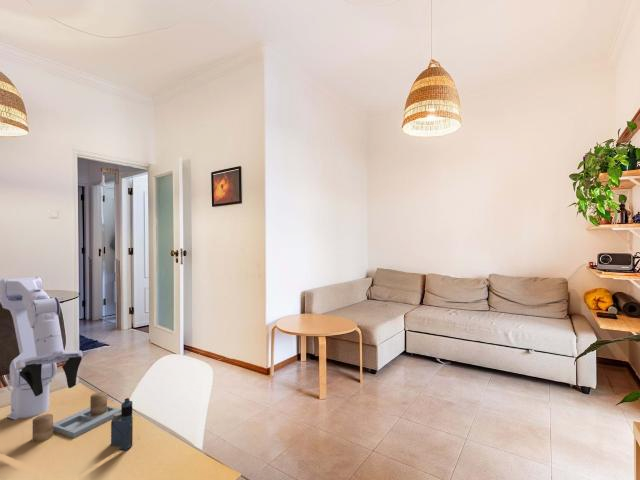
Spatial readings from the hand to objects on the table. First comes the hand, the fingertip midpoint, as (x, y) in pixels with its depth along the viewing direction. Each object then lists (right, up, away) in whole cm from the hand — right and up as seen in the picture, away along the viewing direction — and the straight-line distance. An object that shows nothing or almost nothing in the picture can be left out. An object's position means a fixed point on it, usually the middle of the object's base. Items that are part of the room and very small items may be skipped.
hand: (56, 390), depth 86 cm
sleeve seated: (+5, -12, +10) cm, 16 cm away
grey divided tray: (+3, -13, +7) cm, 15 cm away
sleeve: (-3, -13, -1) cm, 13 cm away
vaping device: (+19, -13, -4) cm, 23 cm away
